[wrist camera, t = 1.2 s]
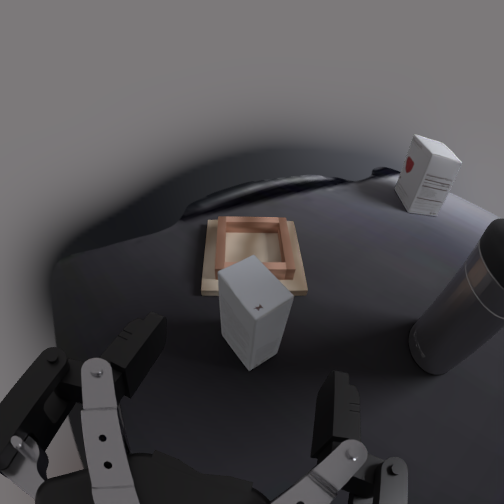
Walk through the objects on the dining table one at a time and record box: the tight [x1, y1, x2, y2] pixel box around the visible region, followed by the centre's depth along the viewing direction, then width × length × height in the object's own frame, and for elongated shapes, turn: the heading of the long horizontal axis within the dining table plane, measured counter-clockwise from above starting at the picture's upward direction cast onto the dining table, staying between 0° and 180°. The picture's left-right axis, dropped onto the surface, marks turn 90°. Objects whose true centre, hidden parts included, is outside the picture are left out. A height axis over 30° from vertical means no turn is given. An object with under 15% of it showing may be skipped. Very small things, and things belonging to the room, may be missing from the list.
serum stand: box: [201, 217, 308, 296], centre depth 41 cm, size 14×14×3 cm
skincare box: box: [218, 255, 294, 371], centre depth 29 cm, size 6×4×12 cm
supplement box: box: [395, 135, 462, 216], centre depth 51 cm, size 9×9×15 cm
